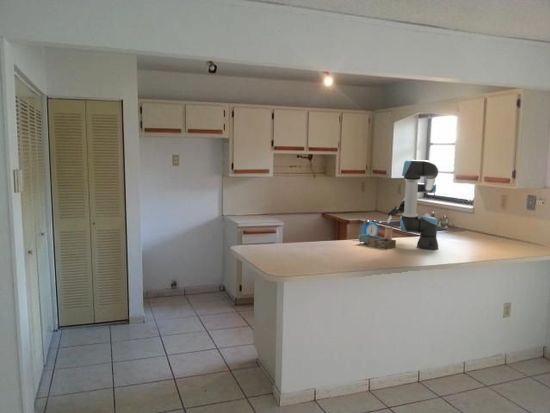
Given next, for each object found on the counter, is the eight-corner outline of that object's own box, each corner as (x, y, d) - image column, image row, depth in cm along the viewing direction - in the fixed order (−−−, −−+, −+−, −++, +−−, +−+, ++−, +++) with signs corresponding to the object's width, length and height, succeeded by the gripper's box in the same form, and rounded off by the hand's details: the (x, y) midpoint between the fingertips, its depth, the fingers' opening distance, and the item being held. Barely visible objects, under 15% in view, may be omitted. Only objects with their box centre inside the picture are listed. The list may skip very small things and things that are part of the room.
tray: (385, 242, 347) (386, 236, 346) (375, 244, 338) (376, 238, 337) (368, 239, 358) (368, 233, 357) (358, 241, 349) (358, 235, 348)
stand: (395, 246, 341) (395, 240, 341) (385, 249, 332) (385, 242, 331) (377, 243, 352) (378, 237, 352) (367, 245, 343) (367, 239, 342)
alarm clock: (364, 239, 370) (365, 220, 369) (360, 237, 376) (361, 219, 374) (378, 238, 375) (379, 220, 374) (374, 237, 381) (374, 219, 379)
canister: (393, 242, 358) (393, 227, 357) (389, 243, 355) (389, 227, 353) (386, 241, 362) (387, 226, 361) (383, 242, 359) (383, 227, 357)
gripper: (421, 208, 365) (410, 228, 357) (394, 205, 383) (383, 224, 375) (418, 201, 361) (407, 222, 353) (391, 199, 379) (380, 218, 371)
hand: (395, 223), depth 364 cm, fingers open, 13 cm apart
